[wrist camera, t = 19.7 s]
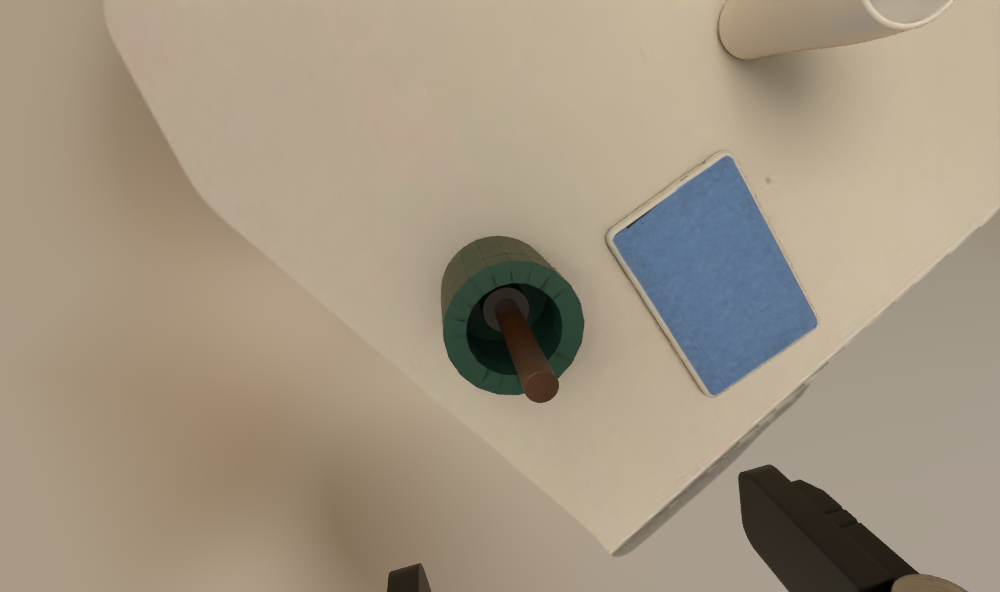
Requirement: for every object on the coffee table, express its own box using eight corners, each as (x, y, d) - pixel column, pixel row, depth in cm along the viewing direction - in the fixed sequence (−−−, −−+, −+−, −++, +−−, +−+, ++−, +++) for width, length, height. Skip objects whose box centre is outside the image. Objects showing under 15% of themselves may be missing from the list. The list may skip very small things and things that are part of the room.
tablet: (599, 234, 44) (604, 237, 43) (724, 145, 43) (732, 144, 42) (703, 396, 50) (710, 403, 48) (815, 320, 49) (825, 325, 48)
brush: (482, 317, 44) (515, 427, 27) (472, 277, 43) (499, 364, 26) (523, 307, 44) (582, 408, 27) (514, 267, 43) (569, 346, 26)
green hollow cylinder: (456, 354, 45) (463, 410, 36) (428, 251, 42) (427, 281, 33) (560, 327, 46) (594, 374, 36) (539, 223, 43) (569, 245, 33)
